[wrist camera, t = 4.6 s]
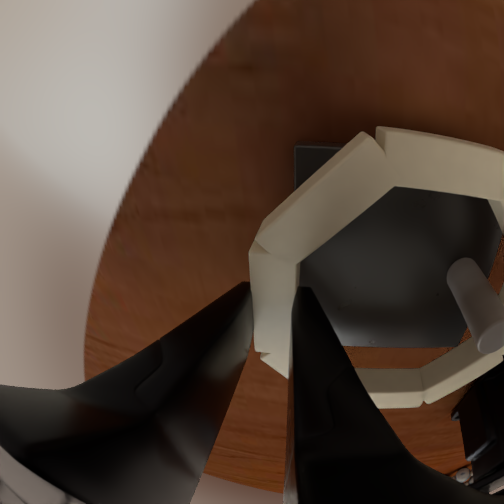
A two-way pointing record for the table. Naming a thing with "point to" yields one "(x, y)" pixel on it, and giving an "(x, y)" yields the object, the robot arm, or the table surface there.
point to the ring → (345, 211)
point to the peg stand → (406, 267)
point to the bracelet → (464, 476)
